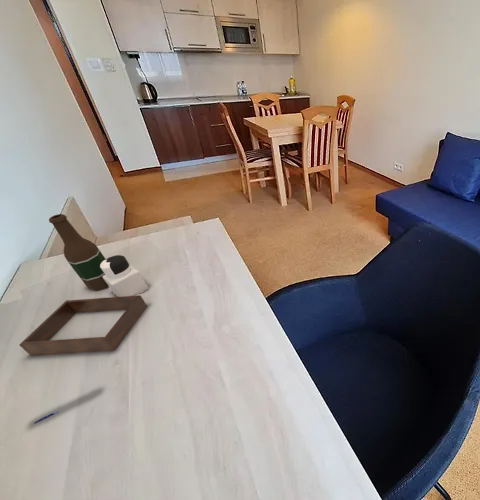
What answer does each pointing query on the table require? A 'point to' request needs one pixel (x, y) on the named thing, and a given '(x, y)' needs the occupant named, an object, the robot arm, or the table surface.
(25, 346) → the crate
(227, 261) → the table surface
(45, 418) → the ballpoint pen
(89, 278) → the beer bottle
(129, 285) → the medicine bottle
